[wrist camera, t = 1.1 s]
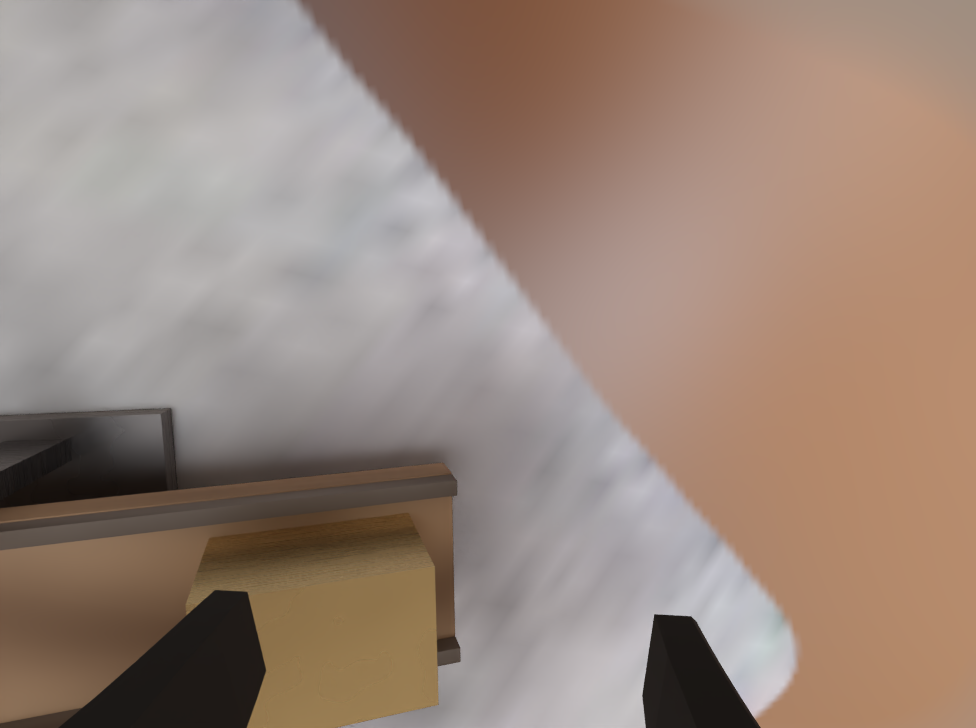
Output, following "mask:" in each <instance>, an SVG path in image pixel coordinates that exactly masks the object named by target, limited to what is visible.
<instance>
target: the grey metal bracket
mask: <svg viewBox="0 0 976 728" xmlns="http://www.w3.org/2000/svg"><path fill="white" fill-rule="evenodd" d="M173 490H177V478H176V466H175V454H174V442H173V431H172V419H171V408H167V409H143V410H120V411H97V412H73V413H50V414H27V415H4V416H0V508H8V507H17V506H27V505H37V504H46V503H56V502H66V501H76V500H85V499H95V498H105V497H114V496H124V495H134V494H143V493H153V492H163V491H173Z"/></svg>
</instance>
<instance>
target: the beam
mask: <svg viewBox="0 0 976 728" xmlns="http://www.w3.org/2000/svg"><path fill="white" fill-rule="evenodd" d="M452 496H457V480H456V479H455V478H454V477H453V475H452V474H451V471H450V470H449V469H448V468H447V467H446V465H445V464H444V463H435V464H425V465H415V466H405V467H396V468H386V469H376V470H367V471H357V472H347V473H338V474H328V475H318V476H308V477H299V478H289V479H279V480H270V481H260V482H250V483H240V484H231V485H221V486H211V487H202V488H192V489H182V490H173V491H163V492H153V493H143V494H134V495H124V496H114V497H105V498H95V499H85V500H76V501H66V502H56V503H46V504H37V505H27V506H17V507H8V508H0V728H59V727H60V726H61V725H62V724H63V723H65V722H66V721H67V720H68V719H69V718H71V717H72V716H73V715H74V714H76V713H77V712H78V711H79V710H80V709H82V708H83V707H84V706H85V705H86V704H88V703H89V702H90V701H91V700H92V699H94V698H95V697H96V696H97V695H98V694H99V693H100V692H102V691H103V690H104V689H105V688H106V687H107V686H108V685H110V684H111V683H112V682H113V681H114V680H115V679H116V678H117V677H119V676H120V675H121V674H122V673H123V672H124V671H125V670H127V669H128V668H129V667H130V666H131V665H132V664H133V663H134V662H136V661H137V660H138V659H139V658H140V657H141V656H142V655H143V654H145V653H146V652H147V651H148V650H149V649H150V648H151V647H152V646H153V645H154V644H156V643H157V642H158V641H159V640H160V639H161V638H162V637H163V636H164V635H165V634H167V633H168V632H169V631H170V630H171V629H172V628H173V627H174V626H175V625H176V624H178V623H179V622H180V621H181V620H182V619H183V618H184V617H185V616H186V602H187V600H188V597H189V594H190V591H191V588H192V585H193V582H194V579H195V577H196V574H197V571H198V568H199V565H200V562H201V559H202V556H203V554H204V551H205V548H206V545H207V542H208V539H209V538H212V537H220V536H228V535H236V534H244V533H252V532H260V531H268V530H276V529H284V528H292V527H300V526H308V525H315V524H323V523H331V522H339V521H347V520H355V519H363V518H371V517H379V516H387V515H395V514H403V513H409V515H410V517H411V519H412V521H413V523H414V525H415V527H416V529H417V531H418V533H419V535H420V537H421V539H422V541H423V543H424V546H425V548H426V550H427V552H428V554H429V556H430V558H431V560H432V562H433V564H434V566H435V592H436V630H437V666H442V665H447V664H452V663H456V662H460V646H459V644H458V642H457V640H456V637H455V612H454V566H453V520H452Z"/></svg>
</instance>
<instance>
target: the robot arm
mask: <svg viewBox="0 0 976 728" xmlns="http://www.w3.org/2000/svg"><path fill="white" fill-rule="evenodd" d="M265 673H266V667H265V663H264V659H263V654H262V650H261V646H260V642H259V638H258V634H257V629H256V625H255V621H254V617H253V613H252V609H251V604H250V600H249V596H248V592H244V591H227V590H214V591H213V592H212V593H211V594H210V595H209V596H208V597H206V598H205V599H204V600H203V601H202V602H201V603H200V604H199V605H197V606H196V607H195V608H194V609H193V610H192V611H191V612H190V613H189V614H187V615H186V616H185V617H184V618H183V619H182V620H181V621H180V622H179V623H178V624H176V625H175V626H174V627H173V628H172V629H171V630H170V631H169V632H168V633H167V634H165V635H164V636H163V637H162V638H161V639H160V640H159V641H158V642H157V643H156V644H154V645H153V646H152V647H151V648H150V649H149V650H148V651H147V652H146V653H145V654H143V655H142V656H141V657H140V658H139V659H138V660H137V661H136V662H134V663H133V664H132V665H131V666H130V667H129V668H128V669H127V670H125V671H124V672H123V673H122V674H121V675H120V676H119V677H117V678H116V679H115V680H114V681H113V682H112V683H111V684H110V685H108V686H107V687H106V688H105V689H104V690H103V691H102V692H100V693H99V694H98V695H97V696H96V697H95V698H94V699H92V700H91V701H90V702H89V703H88V704H86V705H85V706H84V707H83V708H82V709H80V710H79V711H78V712H77V713H76V714H74V715H73V716H72V717H71V718H69V719H68V720H67V721H66V722H65V723H63V724H62V725H61V726H60V727H59V728H247V726H248V723H249V720H250V717H251V715H252V712H253V709H254V706H255V703H256V700H257V697H258V694H259V691H260V688H261V685H262V682H263V679H264V676H265ZM642 696H643V705H644V714H645V724H646V728H760V726H759V725H758V723H757V722H756V720H755V719H754V717H753V716H752V714H751V713H750V711H749V710H748V708H747V706H746V705H745V703H744V702H743V700H742V699H741V697H740V695H739V694H738V692H737V691H736V689H735V687H734V686H733V684H732V682H731V681H730V679H729V678H728V676H727V674H726V673H725V671H724V669H723V668H722V666H721V664H720V663H719V661H718V659H717V658H716V656H715V654H714V652H713V651H712V649H711V647H710V645H709V644H708V642H707V640H706V638H705V637H704V635H703V633H702V631H701V629H700V628H699V626H698V624H697V622H696V621H695V620H694V619H693V618H692V617H691V616H674V615H656V614H654V621H653V627H652V634H651V641H650V648H649V654H648V661H647V668H646V675H645V681H644V688H643V695H642Z"/></svg>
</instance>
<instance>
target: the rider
mask: <svg viewBox="0 0 976 728" xmlns="http://www.w3.org/2000/svg"><path fill="white" fill-rule="evenodd" d="M214 590H227V591H244V592H248V596H249V600H250V604H251V609H252V613H253V617H254V621H255V625H256V629H257V634H258V638H259V642H260V646H261V650H262V654H263V659H264V663H265V667H266V673H265V676H264V679H263V682H262V685H261V688H260V691H259V694H258V697H257V700H256V703H255V706H254V709H253V712H252V715H251V717H250V720H249V723H248V726H247V728H336V727H341V726H345V725H350V724H354V723H359V722H363V721H368V720H372V719H377V718H381V717H386V716H390V715H394V714H399V713H403V712H408V711H412V710H417V709H421V708H426V707H430V706H435V705H438V668H437V630H436V592H435V566H434V564H433V562H432V560H431V558H430V556H429V554H428V552H427V550H426V548H425V546H424V543H423V541H422V539H421V537H420V535H419V533H418V531H417V529H416V527H415V525H414V523H413V521H412V519H411V517H410V515H409V513H403V514H395V515H387V516H379V517H371V518H363V519H355V520H347V521H339V522H331V523H323V524H315V525H308V526H300V527H292V528H284V529H276V530H268V531H260V532H252V533H244V534H236V535H228V536H220V537H212V538H209V539H208V542H207V545H206V548H205V551H204V554H203V556H202V559H201V562H200V565H199V568H198V571H197V574H196V577H195V579H194V582H193V585H192V588H191V591H190V594H189V597H188V600H187V602H186V615H187V614H189V613H190V612H191V611H192V610H193V609H194V608H195V607H196V606H197V605H199V604H200V603H201V602H202V601H203V600H204V599H205V598H206V597H208V596H209V595H210V594H211V593H212V592H213V591H214Z"/></svg>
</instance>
